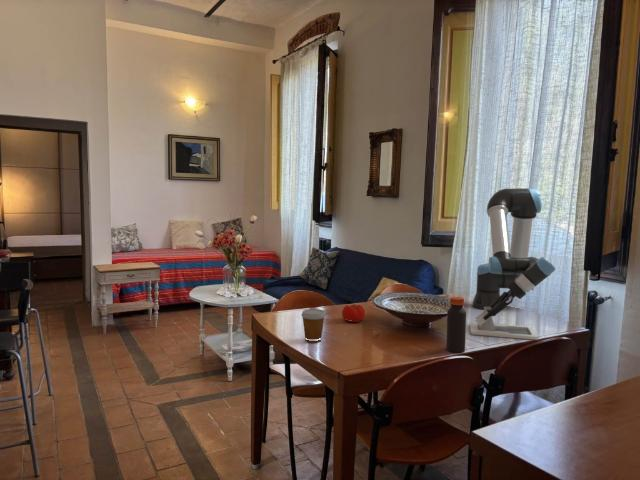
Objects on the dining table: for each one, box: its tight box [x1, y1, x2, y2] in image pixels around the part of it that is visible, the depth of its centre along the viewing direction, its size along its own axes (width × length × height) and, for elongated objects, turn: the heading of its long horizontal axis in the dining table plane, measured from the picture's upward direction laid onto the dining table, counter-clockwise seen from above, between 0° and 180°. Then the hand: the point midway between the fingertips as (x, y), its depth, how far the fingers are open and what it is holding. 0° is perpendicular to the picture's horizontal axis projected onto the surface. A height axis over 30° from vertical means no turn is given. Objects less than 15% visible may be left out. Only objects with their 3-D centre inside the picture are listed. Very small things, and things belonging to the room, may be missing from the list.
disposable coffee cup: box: [301, 308, 326, 344], centre depth 184 cm, size 10×10×12 cm
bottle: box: [445, 296, 467, 354], centre depth 173 cm, size 7×7×20 cm
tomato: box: [341, 303, 366, 323], centre depth 215 cm, size 11×11×8 cm
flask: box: [478, 307, 496, 331], centre depth 200 cm, size 7×7×10 cm
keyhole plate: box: [469, 321, 540, 341], centre depth 198 cm, size 16×26×2 cm, turn 74°
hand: (477, 321), depth 201 cm, fingers closed on flask, 4 cm apart
